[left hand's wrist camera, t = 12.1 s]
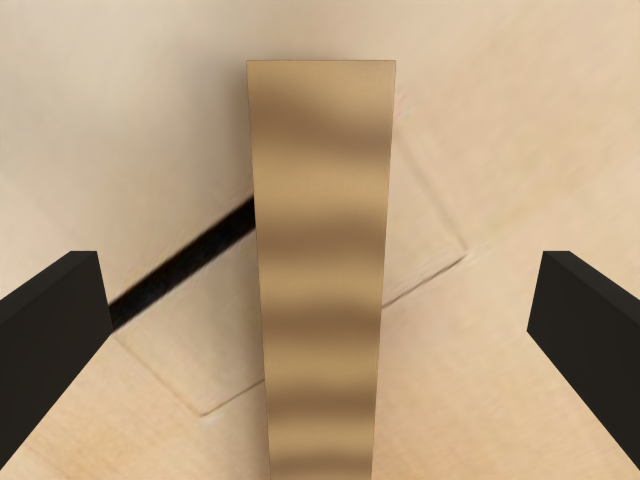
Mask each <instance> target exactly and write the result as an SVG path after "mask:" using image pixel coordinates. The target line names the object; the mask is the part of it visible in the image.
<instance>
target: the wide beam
mask: <svg viewBox="0 0 640 480" xmlns="http://www.w3.org/2000/svg"><path fill="white" fill-rule="evenodd" d="M246 67H247V84H248V101H249V118H250V135H251V152H252V169H253V186H254V203H255V220H256V237H257V254H258V271H259V288H260V305H261V322H262V338H263V355H264V372H265V389H266V406H267V423H268V440H269V457H270V474H271V480H371V473H372V457H373V440H374V423H375V406H376V390H377V373H378V356H379V339H380V323H381V306H382V289H383V272H384V256H385V239H386V222H387V205H388V189H389V172H390V155H391V138H392V122H393V105H394V88H395V71H396V61H395V60H247V61H246Z"/></svg>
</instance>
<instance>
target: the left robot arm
mask: <svg viewBox="0 0 640 480" xmlns="http://www.w3.org/2000/svg"><path fill="white" fill-rule="evenodd" d="M112 332H113V327H112V322H111V317H110V312H109V308H108V303H107V298H106V293H105V288H104V284H103V279H102V274H101V269H100V264H99V260H98V255H97V251H70V252H68V253H67V254H66V255H64V256H63V257H61V258H60V259H58V260H57V261H56V262H54V263H53V264H51V265H50V266H48V267H47V268H46V269H44V270H43V271H41V272H40V273H38V274H37V275H36V276H34V277H33V278H31V279H30V280H28V281H27V282H26V283H24V284H23V285H21V286H20V287H18V288H17V289H16V290H14V291H13V292H11V293H10V294H8V295H7V296H6V297H4V298H3V299H1V300H0V470H1V469H2V468H3V466H4V465H5V464H6V463H7V462H8V460H9V459H10V458H11V457H12V455H13V454H14V453H15V452H16V450H17V449H18V448H19V447H20V446H21V444H22V443H23V442H24V441H25V439H26V438H27V437H28V436H29V434H30V433H31V432H32V431H33V429H34V428H35V427H36V426H37V425H38V423H39V422H40V421H41V420H42V418H43V417H44V416H45V415H46V413H47V412H48V411H49V410H50V409H51V407H52V406H53V405H54V404H55V402H56V401H57V400H58V399H59V397H60V396H61V395H62V394H63V393H64V391H65V390H66V389H67V388H68V386H69V385H70V384H71V383H72V381H73V380H74V379H75V378H76V377H77V375H78V374H79V373H80V372H81V370H82V369H83V368H84V367H85V365H86V364H87V363H88V362H89V361H90V359H91V358H92V357H93V356H94V354H95V353H96V352H97V351H98V349H99V348H100V347H101V346H102V344H103V343H104V342H105V341H106V340H107V338H108V337H109V336H110V335H111V333H112ZM527 332H528V333H529V335H530V336H531V337H532V338H533V340H534V341H535V342H536V343H537V344H538V346H539V347H540V348H541V349H542V351H543V352H544V353H545V354H546V356H547V357H548V358H549V359H550V361H551V362H552V363H553V364H554V365H555V367H556V368H557V369H558V370H559V372H560V373H561V374H562V375H563V377H564V378H565V379H566V380H567V381H568V383H569V384H570V385H571V386H572V388H573V389H574V390H575V391H576V393H577V394H578V395H579V396H580V397H581V399H582V400H583V401H584V402H585V404H586V405H587V406H588V407H589V409H590V410H591V411H592V412H593V413H594V415H595V416H596V417H597V418H598V420H599V421H600V422H601V423H602V425H603V426H604V427H605V428H606V429H607V431H608V432H609V433H610V434H611V436H612V437H613V438H614V439H615V441H616V442H617V443H618V444H619V446H620V447H621V448H622V449H623V450H624V452H625V453H626V454H627V455H628V457H629V458H630V459H631V460H632V462H633V463H634V464H635V465H636V466H637V468H638V469H639V470H640V300H639V299H637V298H636V297H634V296H633V295H632V294H630V293H629V292H627V291H626V290H624V289H623V288H622V287H620V286H619V285H617V284H616V283H614V282H613V281H612V280H610V279H609V278H607V277H606V276H604V275H603V274H602V273H600V272H599V271H597V270H596V269H594V268H593V267H592V266H590V265H589V264H587V263H586V262H584V261H583V260H582V259H580V258H579V257H577V256H576V255H574V254H573V253H572V252H570V251H543V255H542V260H541V264H540V269H539V274H538V279H537V284H536V288H535V293H534V298H533V303H532V308H531V312H530V317H529V322H528V327H527Z"/></svg>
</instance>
